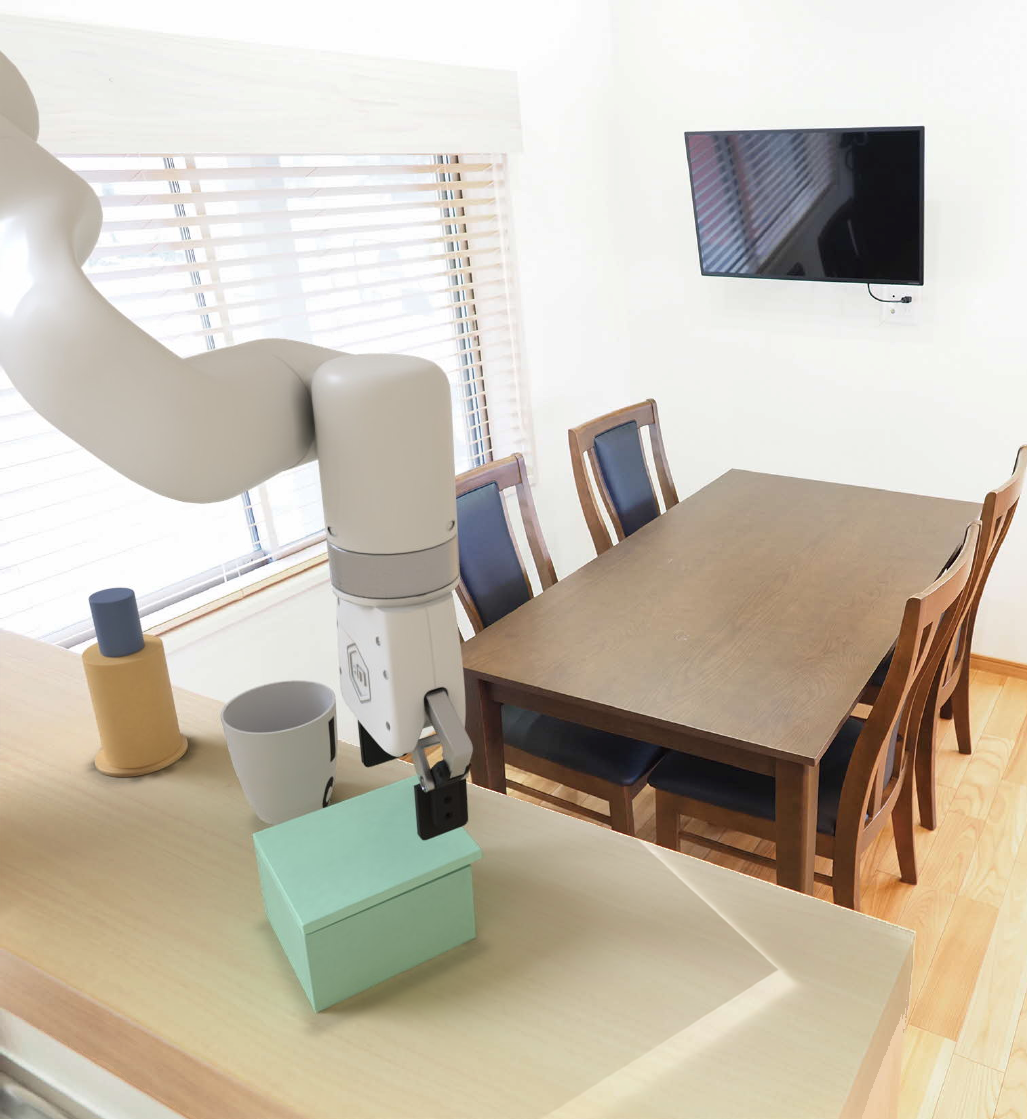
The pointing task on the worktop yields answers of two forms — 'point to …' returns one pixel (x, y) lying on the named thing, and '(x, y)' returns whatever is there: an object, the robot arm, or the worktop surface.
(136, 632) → the tan cardboard cylinder
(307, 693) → the cup
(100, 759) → the coaster
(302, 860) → the lid
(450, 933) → the mint green lidded box
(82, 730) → the worktop surface
